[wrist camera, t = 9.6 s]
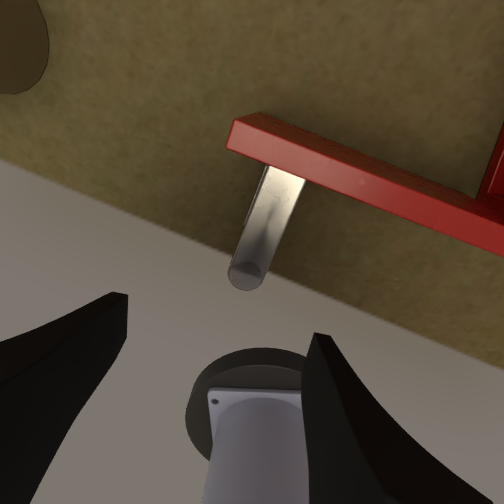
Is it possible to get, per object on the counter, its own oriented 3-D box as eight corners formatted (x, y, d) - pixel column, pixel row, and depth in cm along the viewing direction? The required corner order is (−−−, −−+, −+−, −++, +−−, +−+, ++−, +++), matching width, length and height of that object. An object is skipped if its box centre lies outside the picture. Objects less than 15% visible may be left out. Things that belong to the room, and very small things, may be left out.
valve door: (411, 282, 21) (513, 422, 12) (224, 211, 20) (174, 302, 11) (468, 195, 19) (653, 285, 9) (259, 111, 18) (234, 118, 9)
